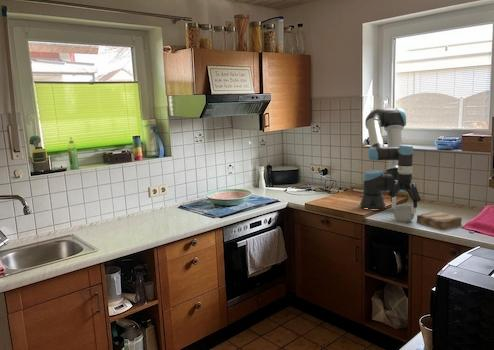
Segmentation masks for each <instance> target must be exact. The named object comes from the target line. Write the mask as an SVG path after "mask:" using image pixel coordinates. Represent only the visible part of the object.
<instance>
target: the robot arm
mask: <svg viewBox="0 0 494 350" xmlns="http://www.w3.org/2000/svg"><path fill="white" fill-rule="evenodd" d="M364 123H365V124H364V125H365V128H366V129H367V132H368V139H369V145H370V147H368V149H367V155H368V156H367V159H368V160H369V161H376V162H377V161H387V165H388V167H387V169H386V170H385V172H384V171H383V169H372V170H368V171H365V172H364V173H363V187H362V189H363V190H362V193H363V194H362V198H361V200H360V202H359V207H360V206H361V207H363V208H368V209H383V210H385V209H386V203H385V199H384V196H383V195H384V194H383V193H384V192H388V193H387V194H388V196H390V203H391V209H392V210H394V207H395V206H397V195H398V194H399V192H407V193H408V196H410V198H411V200H412V201H411V206H412V207H411V214H414V215H415V214H417V208H418V202H421V201H422V199H421V197H420V194H419V190H418V188H417V183H412V181H413V174H412V173H413V162H414V160H413V157H414V156H413V155H414V147H413V145H411V144H403V141H402V140H403V139H402V138H403V137H402V131H403V129H404V128H405V127H406V125H407V115H406V112H405V110H404V109H403V108H400V107H399V108H398V107H395V108H376V109H374V110H372V111H371V112H370V113H369V114H368V115H367V116H366V118H365V122H364ZM381 128H383V129H384V131H385V132H386V139H387V141H386V142H387V143H386V144H387V146H385V144H384V143H385V142H384V139H383V134H382V129H381ZM361 207H360V208H361ZM384 208H385V209H384Z"/></svg>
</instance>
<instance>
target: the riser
mask: <svg viewBox="0 0 494 350" xmlns="http://www.w3.org/2000/svg"><path fill="white" fill-rule="evenodd" d="M462 218H463V217H460V216H457V215H453V214H449V213H445V212H440V211H437V210H434V211H431V212H430V211H429V212H425V213H421V214H417V216H416V223H418V224H422V225H425V226H429V227H431V228H435V229H439V230H441V231H444V230H447V229H452V228H454V227H458V226H461V225H462Z"/></svg>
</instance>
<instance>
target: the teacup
mask: <svg viewBox="0 0 494 350" xmlns="http://www.w3.org/2000/svg"><path fill="white" fill-rule="evenodd" d="M411 207H412V205H408V204H397V205H396V206H395V207H394V209H393V217H394V219H395V220H396V221H397V222H400V223H409V222H411V221H412V220H413V219H414V217H415V213H414V214H411Z"/></svg>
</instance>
